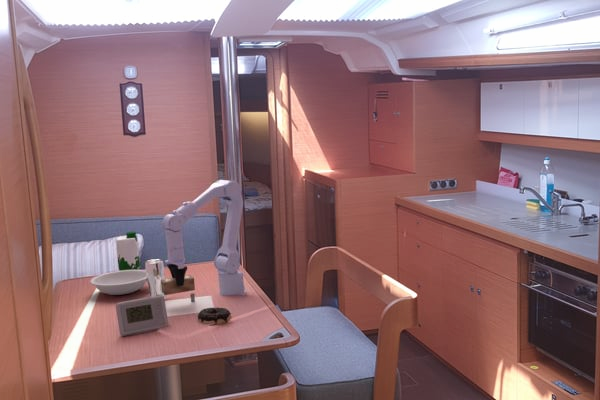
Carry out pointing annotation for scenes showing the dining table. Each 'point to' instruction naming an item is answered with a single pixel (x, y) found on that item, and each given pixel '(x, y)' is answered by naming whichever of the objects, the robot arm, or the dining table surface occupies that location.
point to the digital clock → (141, 315)
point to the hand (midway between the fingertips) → (178, 284)
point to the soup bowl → (120, 281)
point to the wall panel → (188, 305)
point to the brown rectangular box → (172, 288)
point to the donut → (214, 316)
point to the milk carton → (128, 252)
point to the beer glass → (155, 276)
